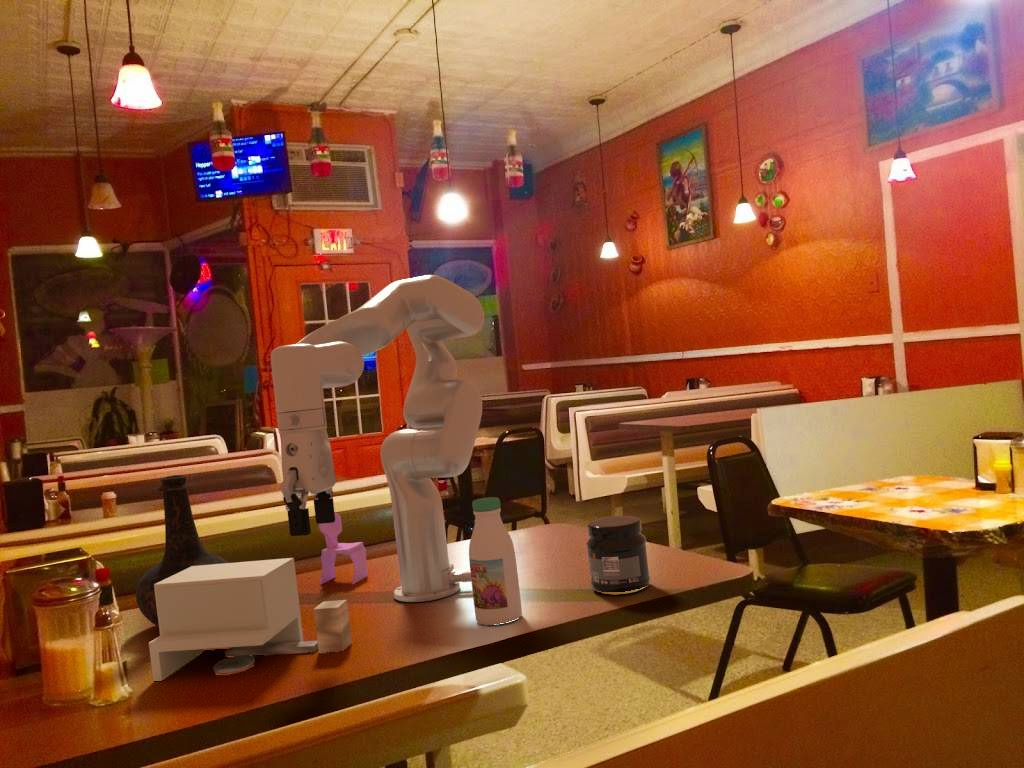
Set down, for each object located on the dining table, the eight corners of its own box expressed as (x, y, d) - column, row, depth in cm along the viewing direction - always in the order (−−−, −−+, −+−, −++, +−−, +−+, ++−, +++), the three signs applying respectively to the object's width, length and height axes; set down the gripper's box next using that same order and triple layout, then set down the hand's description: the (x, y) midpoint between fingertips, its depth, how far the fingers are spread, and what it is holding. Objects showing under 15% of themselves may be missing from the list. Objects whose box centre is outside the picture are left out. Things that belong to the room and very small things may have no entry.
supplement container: (635, 576, 149) (628, 512, 149) (661, 589, 139) (653, 521, 139) (582, 586, 146) (575, 521, 146) (604, 601, 136) (597, 530, 136)
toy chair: (353, 585, 166) (344, 514, 166) (316, 586, 169) (308, 516, 169) (372, 574, 174) (364, 506, 174) (336, 575, 177) (328, 508, 177)
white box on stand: (303, 641, 132) (293, 557, 132) (266, 675, 118) (254, 581, 118) (201, 648, 134) (192, 566, 134) (153, 682, 121) (142, 590, 120)
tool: (351, 642, 129) (346, 599, 128) (343, 651, 125) (338, 607, 125) (235, 650, 131) (230, 608, 131) (223, 659, 127) (218, 616, 127)
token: (262, 661, 125) (261, 654, 125) (244, 676, 120) (243, 668, 120) (226, 663, 126) (225, 656, 126) (206, 678, 120) (205, 671, 120)
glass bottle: (229, 602, 164) (212, 466, 164) (251, 619, 149) (234, 470, 149) (134, 625, 155) (116, 481, 154) (148, 646, 139) (128, 486, 139)
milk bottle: (500, 609, 138) (487, 494, 137) (532, 615, 132) (518, 495, 132) (466, 622, 132) (452, 502, 132) (498, 629, 127) (484, 504, 127)
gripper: (301, 423, 119) (313, 538, 119) (344, 416, 136) (355, 517, 136) (254, 428, 120) (266, 542, 120) (303, 420, 137) (313, 520, 137)
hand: (313, 528), depth 128 cm, fingers open, 9 cm apart
